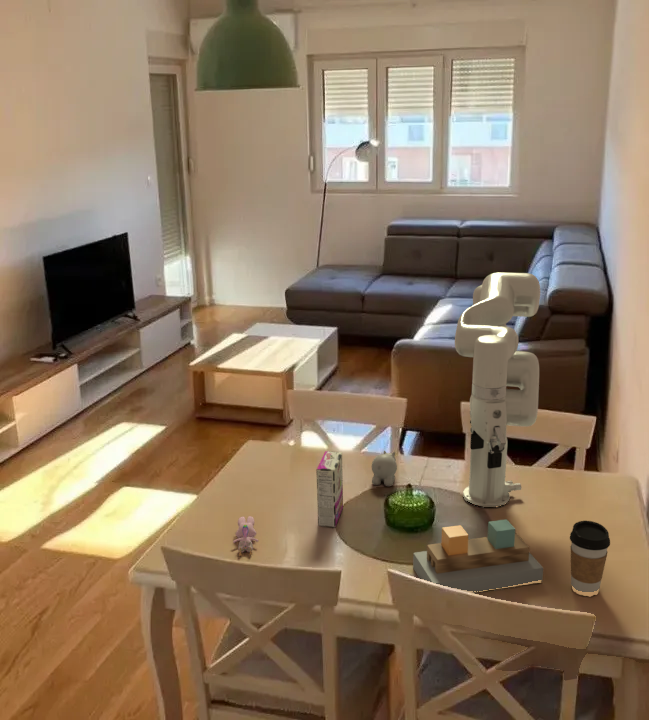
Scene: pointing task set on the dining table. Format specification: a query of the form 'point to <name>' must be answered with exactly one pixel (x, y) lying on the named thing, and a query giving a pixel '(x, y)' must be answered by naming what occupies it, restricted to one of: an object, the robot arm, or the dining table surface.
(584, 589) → the coffee cup
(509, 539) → the teal cube
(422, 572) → the dock
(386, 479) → the round bodied animal figurine
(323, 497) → the candy bar box
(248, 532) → the rabbit figure
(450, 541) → the orange cube
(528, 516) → the dining table surface
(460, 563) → the brown wooden block
